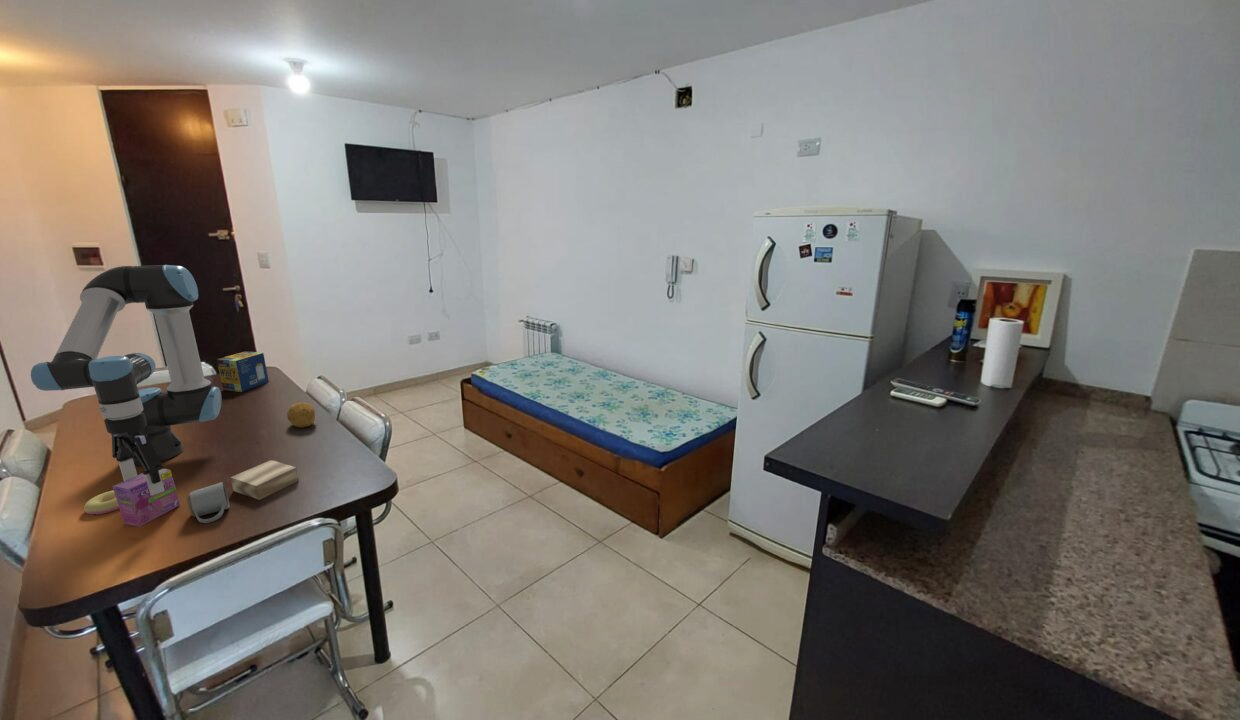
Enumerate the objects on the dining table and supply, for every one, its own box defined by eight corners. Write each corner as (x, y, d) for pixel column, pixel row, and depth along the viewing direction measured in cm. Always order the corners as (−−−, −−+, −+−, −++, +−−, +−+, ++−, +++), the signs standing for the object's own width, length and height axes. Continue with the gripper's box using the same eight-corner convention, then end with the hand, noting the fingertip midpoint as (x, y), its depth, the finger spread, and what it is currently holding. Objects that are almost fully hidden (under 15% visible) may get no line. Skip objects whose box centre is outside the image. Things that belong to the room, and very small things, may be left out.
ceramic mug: (192, 510, 136) (186, 486, 134) (229, 500, 141) (223, 477, 139) (192, 529, 129) (185, 504, 126) (230, 517, 134) (225, 493, 131)
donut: (142, 505, 142) (113, 498, 143) (143, 490, 142) (114, 484, 142) (104, 520, 132) (73, 513, 133) (104, 504, 132) (73, 497, 132)
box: (140, 527, 129) (128, 488, 125) (123, 524, 130) (111, 485, 126) (181, 505, 138) (171, 469, 135) (165, 503, 139) (155, 466, 136)
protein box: (222, 390, 227) (215, 359, 223) (251, 380, 242) (245, 350, 238) (241, 392, 226) (235, 360, 221) (269, 381, 240) (264, 352, 236)
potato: (287, 411, 182) (315, 403, 188) (281, 403, 192) (307, 395, 197) (294, 434, 185) (321, 425, 191) (288, 424, 195) (314, 416, 200)
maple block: (233, 491, 146) (230, 477, 145) (273, 473, 157) (271, 459, 156) (259, 500, 142) (256, 485, 141) (298, 481, 153) (296, 467, 151)
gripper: (81, 412, 127) (103, 483, 133) (129, 428, 117) (151, 505, 123) (119, 403, 134) (138, 471, 139) (167, 418, 124) (186, 491, 130)
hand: (144, 487), depth 131 cm, fingers open, 13 cm apart
